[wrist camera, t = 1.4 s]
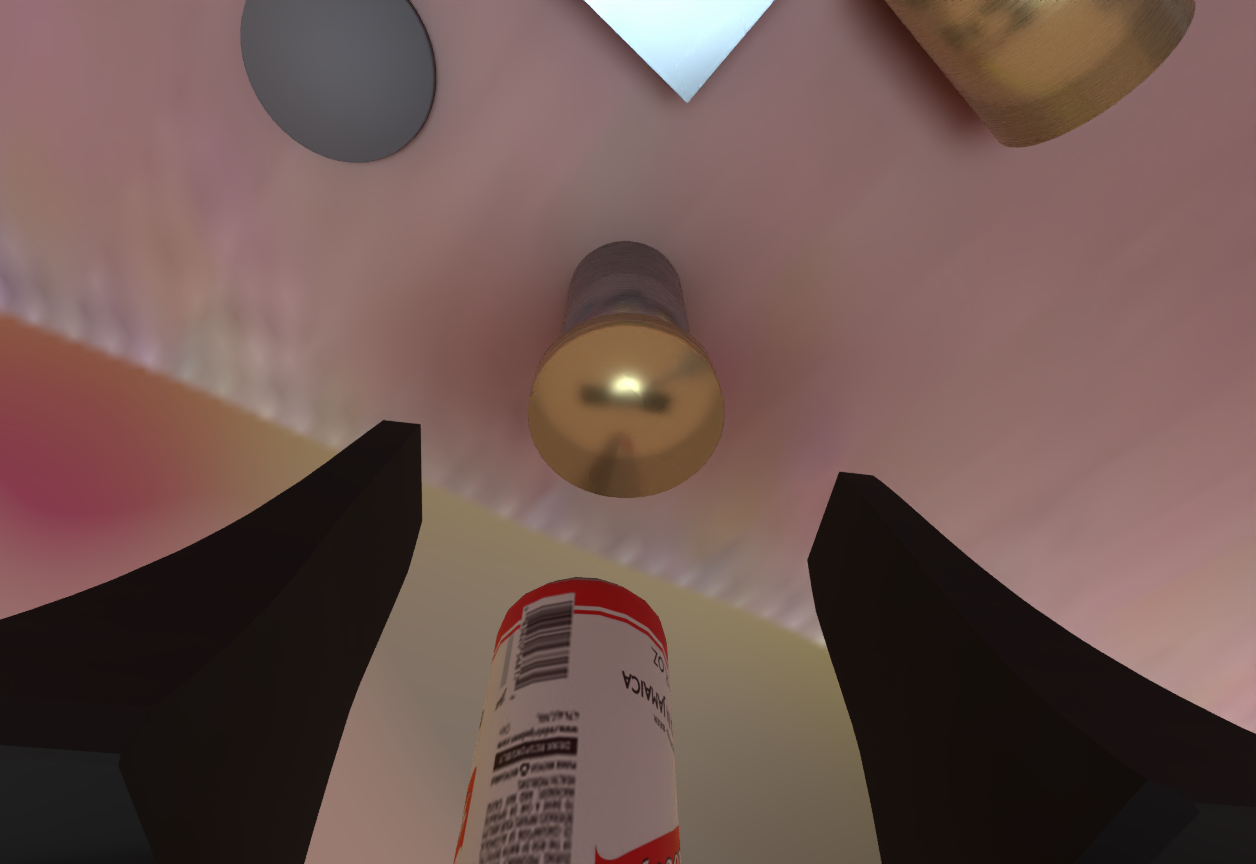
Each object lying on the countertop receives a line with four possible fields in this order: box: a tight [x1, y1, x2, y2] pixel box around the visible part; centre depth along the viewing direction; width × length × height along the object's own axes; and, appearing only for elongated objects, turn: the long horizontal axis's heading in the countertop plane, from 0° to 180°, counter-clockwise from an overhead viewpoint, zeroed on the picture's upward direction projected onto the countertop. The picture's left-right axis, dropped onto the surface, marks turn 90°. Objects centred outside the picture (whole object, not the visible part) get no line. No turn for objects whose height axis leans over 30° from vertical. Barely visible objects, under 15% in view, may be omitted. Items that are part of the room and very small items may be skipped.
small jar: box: [528, 241, 724, 498], centre depth 17 cm, size 4×4×7 cm
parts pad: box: [240, 0, 436, 162], centre depth 17 cm, size 4×4×1 cm
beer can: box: [454, 577, 681, 864], centre depth 20 cm, size 6×6×16 cm
